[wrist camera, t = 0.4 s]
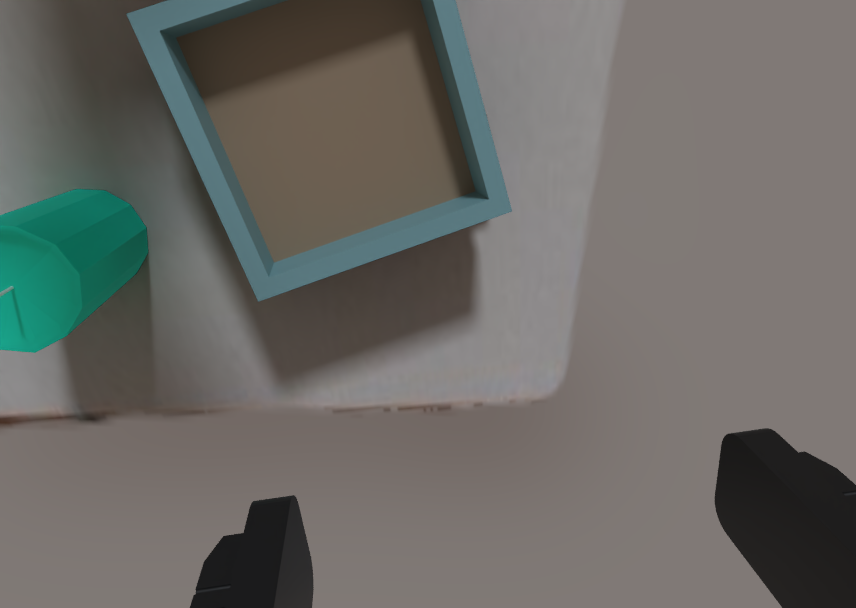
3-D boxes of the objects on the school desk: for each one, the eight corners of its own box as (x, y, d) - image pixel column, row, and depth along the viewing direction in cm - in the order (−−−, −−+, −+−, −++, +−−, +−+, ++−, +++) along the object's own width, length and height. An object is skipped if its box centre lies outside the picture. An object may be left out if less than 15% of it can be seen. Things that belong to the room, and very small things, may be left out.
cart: (153, 37, 32) (106, 20, 25) (425, -53, 33) (450, -94, 26) (257, 269, 37) (241, 307, 30) (491, 186, 38) (528, 205, 31)
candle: (49, 174, 34) (-90, 210, 23) (158, 206, 35) (79, 254, 24) (33, 270, 35) (-105, 349, 24) (138, 297, 37) (55, 383, 26)
